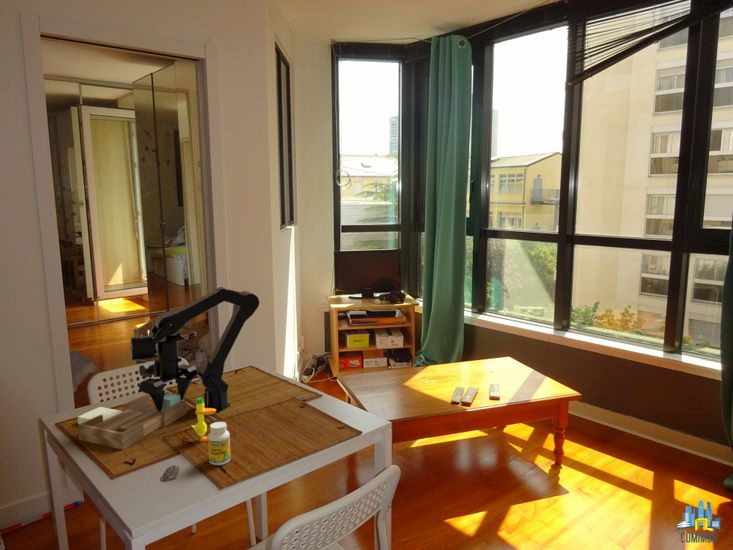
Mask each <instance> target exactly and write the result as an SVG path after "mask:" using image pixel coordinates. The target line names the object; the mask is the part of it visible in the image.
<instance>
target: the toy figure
mask: <svg viewBox="0 0 733 550" xmlns="http://www.w3.org/2000/svg"><path fill="white" fill-rule="evenodd" d="M195 405H196V406H195V407H196V408H195V409H196V410H195V412H194V414H195V415H196V417H197V423H196V424H195V425H191V427H192V429H193V430H194V431H195V433H196V434H197V435H198V437H200V439H199V442H208V436H206V435H205V434H206V433H207V431H208V425H207V423H206V422H205V415H206V416H207V415H214V414H215V413H217V412H216V409H214V408H204V406H205V405H204V400H203V397H198V398H196V402H195Z"/></svg>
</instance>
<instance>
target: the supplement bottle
mask: <svg viewBox="0 0 733 550" xmlns="http://www.w3.org/2000/svg"><path fill="white" fill-rule="evenodd" d="M209 430H210V432H209V433H208V436H207V437H208V439H207V446H208V448H207V450H208V462H209V463H210V465H213V466H222V465H225V464H227V463H229V462H230V460H231V458H232V457H231V455H232V454H231V437H230V435H231V434H230V431H229V430H228V425H227V423H226V422H225V421H216V422H213V423H211V424H210V425H209Z"/></svg>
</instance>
